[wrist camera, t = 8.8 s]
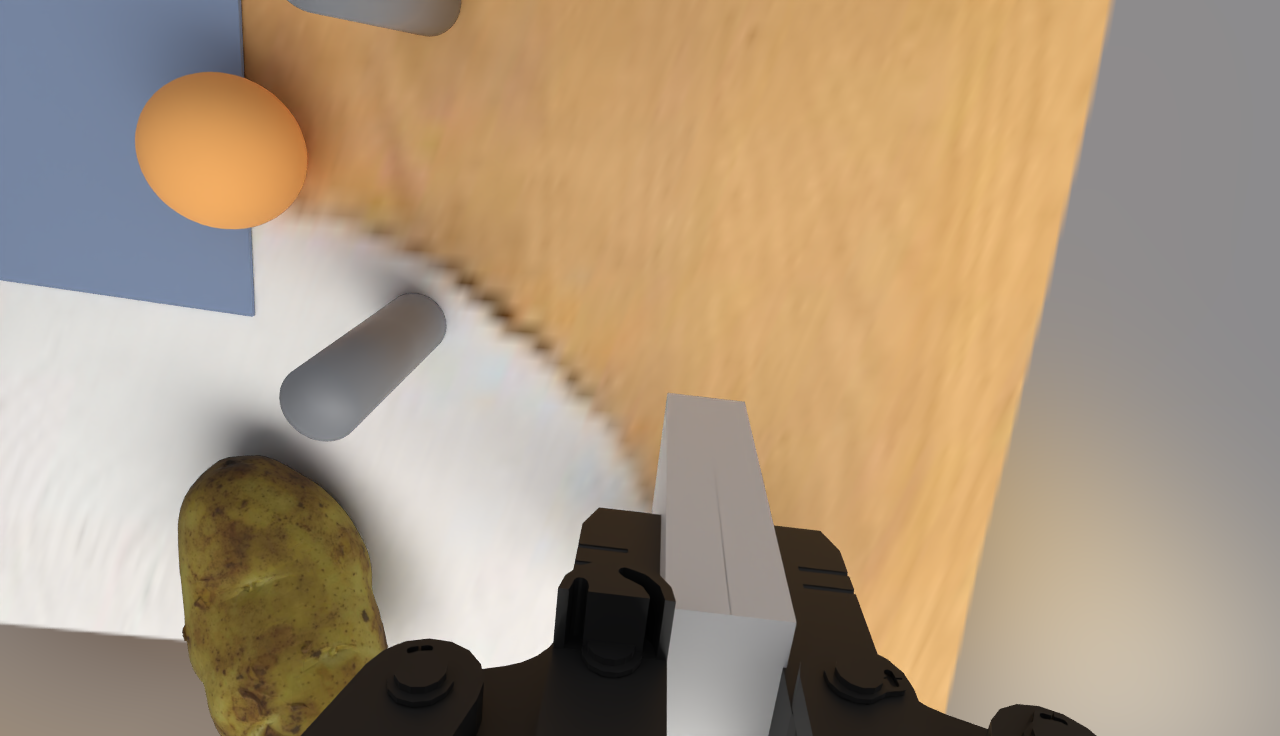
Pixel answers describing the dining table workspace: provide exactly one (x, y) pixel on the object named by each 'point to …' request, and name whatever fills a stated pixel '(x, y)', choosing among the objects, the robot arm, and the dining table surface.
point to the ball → (221, 150)
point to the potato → (272, 596)
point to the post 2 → (361, 368)
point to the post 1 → (390, 13)
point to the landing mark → (108, 151)
